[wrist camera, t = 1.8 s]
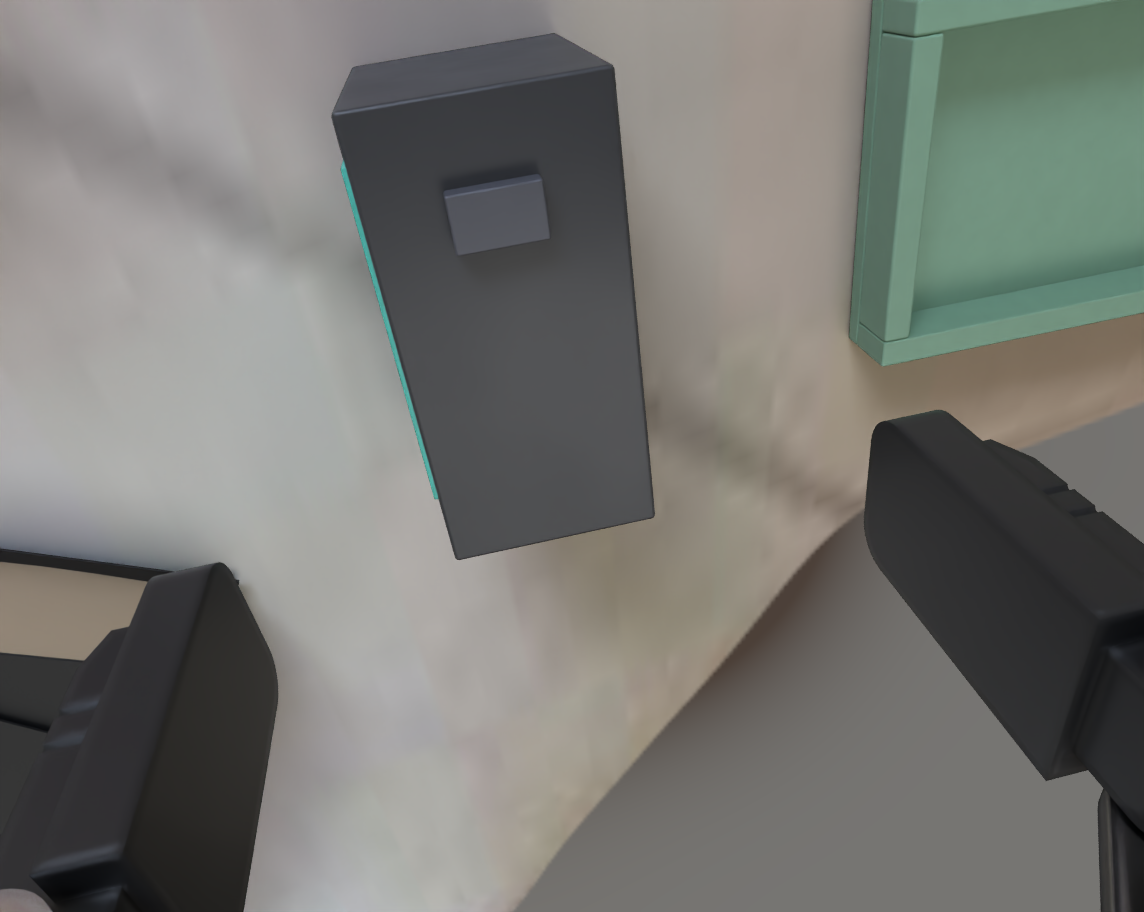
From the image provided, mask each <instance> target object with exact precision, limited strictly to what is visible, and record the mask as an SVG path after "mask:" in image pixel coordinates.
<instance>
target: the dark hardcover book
mask: <svg viewBox="0 0 1144 912" xmlns="http://www.w3.org/2000/svg"><path fill="white" fill-rule="evenodd" d="M172 572H174V571H166V570H158V569H151V568H143V567H136V566H128V565H120V564H113V563H105V562H98V561H90V560H83V559H75V558H67V557H60V556H52V555H45V554H37V553H29V552H22V551H14V550H7V549H0V836H1V834H2V832H3V830H4V828H5V825H6V823H7V821H8V819H9V817H10V814H11V812H12V810H13V808H14V806H15V803H16V801H17V799H18V797H19V795H20V792H21V790H22V788H23V786H24V784H25V781H26V779H27V777H28V775H29V773H30V770H31V768H32V766H33V764H34V762H35V759H36V757H37V755H38V753H43V750H44V748H43V745H42V744H43V742H44V740H45V738H46V735H47V733H48V731H49V729H50V727H51V724H52V722H53V720H54V718H57V717H59V711H58V709H59V707H60V705H61V702H62V700H63V698H64V696H65V694H66V691H67V689H68V687H69V685H70V683H71V680H72V678H73V676H74V674H75V672H76V669H77V668H78V667H79V666H80V665H81V664H82V663H83V661H84V660H85V659H86V658H87V657H88V656H89V655H90V654H91V652H92V651H93V650H94V649H95V648H96V647H97V646H98V645H99V644H100V642H101V641H102V640H103V639H104V638H105V637H106V636H107V635H108V633H109V632H110V631H111V630H115V629H120V628H124V627H129V625H130V623H131V620H132V618H133V616H134V613H135V611H136V608H137V606H138V603H139V601H140V598H141V596H142V593H143V591H144V588H145V586H146V584H147V582H148V581H149V580H150V579H151V578H152V577H154V576H158V575H162V574H167V573H172ZM236 582H237V584H238V585H239V580H236Z"/></svg>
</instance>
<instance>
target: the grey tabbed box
mask: <svg viewBox="0 0 1144 912" xmlns="http://www.w3.org/2000/svg"><path fill="white" fill-rule="evenodd" d="M332 121H333V125H334V128H335V132H336V135H337V139H338V142H339V146H340V150H341V153H342V157H343V163H342V166H341V172H342V176H343V179H344V183H345V186H346V190H347V193H348V197H349V200H350V204H351V207H352V211H353V214H354V218H355V221H356V225H357V228H358V232H359V235H360V239H361V242H362V246H363V249H364V253H365V256H366V260H367V263H368V267H369V270H370V274H371V278H372V281H373V285H374V288H375V292H376V295H377V299H378V302H379V306H380V309H381V313H382V316H383V320H384V323H385V327H386V330H387V334H388V337H389V341H390V344H391V348H392V351H393V355H394V358H395V362H396V365H397V369H398V372H399V376H400V379H401V383H402V386H403V390H404V393H405V397H406V400H407V404H408V408H409V411H410V415H411V418H412V422H413V425H414V429H415V432H416V436H417V439H418V443H419V446H420V450H421V453H422V457H423V460H424V464H425V467H426V471H427V474H428V478H429V481H430V485H431V488H432V492H433V495H434V499H439V502H440V505H441V509H442V513H443V516H444V520H445V523H446V527H447V530H448V534H449V537H450V541H451V545H452V548H453V552H454V555H455V558H456V559H457V560H462V559H466V558H471V557H475V556H480V555H485V554H489V553H494V552H498V551H503V550H508V549H512V548H517V547H521V546H526V545H531V544H535V543H540V542H545V541H549V540H554V539H558V538H563V537H568V536H572V535H577V534H581V533H586V532H591V531H595V530H600V529H604V528H609V527H614V526H618V525H623V524H627V523H632V522H637V521H641V520H646V519H651V518H653V517H654V516H655V509H654V498H653V487H652V476H651V465H650V454H649V443H648V432H647V421H646V410H645V399H644V388H643V378H642V367H641V356H640V345H639V334H638V323H637V312H636V301H635V290H634V279H633V268H632V257H631V246H630V235H629V224H628V213H627V202H626V191H625V180H624V169H623V158H622V147H621V136H620V125H619V114H618V103H617V93H616V82H615V71H614V67H613V65H612V64H610V63H608V62H606V61H604V60H603V59H601V58H599V57H597V56H595V55H594V54H592V53H590V52H588V51H586V50H585V49H583V48H581V47H579V46H577V45H576V44H574V43H572V42H570V41H568V40H566V39H565V38H563V37H561V36H559V35H557V34H555V33H553V34H547V35H541V36H535V37H529V38H523V39H517V40H511V41H505V42H499V43H493V44H487V45H481V46H475V47H469V48H463V49H457V50H451V51H445V52H439V53H434V54H428V55H422V56H416V57H410V58H404V59H398V60H392V61H386V62H380V63H374V64H368V65H362V66H356V67H353V68H352V70H351V72H350V74H349V76H348V79H347V81H346V83H345V85H344V87H343V90H342V92H341V94H340V96H339V99H338V101H337V103H336V105H335V107H334V110H333V112H332Z"/></svg>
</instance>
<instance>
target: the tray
mask: <svg viewBox="0 0 1144 912" xmlns="http://www.w3.org/2000/svg"><path fill="white" fill-rule="evenodd" d="M1140 313H1144V0H873V3H872V17H871V32H870V46H869V60H868V74H867V88H866V103H865V117H864V131H863V145H862V159H861V174H860V188H859V202H858V216H857V230H856V245H855V259H854V273H853V287H852V301H851V316H850V330H849V338H850V339H851V340H852V341H853V342H854V343H856V344H858V346H859V347H860V348H861V349H862V350H864V351H865V352H866V353H867V354H868V355H869V356H870V357H872V358H873V359H874V360H875V361H876V362H877V363H878V364H880V365H881V366H888V365H893V364H898V363H903V362H908V361H913V360H917V359H922V358H927V357H932V356H937V355H942V354H946V353H951V352H956V351H961V350H966V349H971V348H975V347H980V346H985V345H990V344H995V343H1000V342H1004V341H1009V340H1014V339H1019V338H1024V337H1029V336H1033V335H1038V334H1043V333H1048V332H1053V331H1058V330H1062V329H1067V328H1072V327H1077V326H1082V325H1087V324H1091V323H1096V322H1101V321H1106V320H1111V319H1116V318H1120V317H1125V316H1130V315H1135V314H1140Z"/></svg>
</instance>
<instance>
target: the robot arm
mask: <svg viewBox="0 0 1144 912" xmlns="http://www.w3.org/2000/svg"><path fill="white" fill-rule="evenodd" d="M1067 485H1068V484H1067V483H1066V482H1064V481H1063V480H1062V479H1061V478H1059V477H1058V476H1057V475H1056V474H1054V473H1053V472H1052V471H1050V470H1049V469H1048V468H1046V467H1045V466H1044V465H1043V464H1042V463H1040V462H1039V461H1038V460H1037V459H1035V458H1033V457H1031V456H1029V455H1026V454H1024V453H1022V452H1019V451H1017V450H1015V449H1012V448H1010V447H1008V446H1005V445H1003V444H1001V443H998V442H996V441H994V440H991V439H990V440H986V441H982V440H981V439H979V438H978V437H977V436H976V435H975V434H973V433H972V432H971V431H970V430H969V429H967V428H966V427H965V426H964V425H963V424H961V423H960V422H959V421H958V420H957V419H955V418H954V417H953V416H952V415H950V414H949V413H947V412H946V411H943V410H934V411H929V412H925V413H920V414H915V415H911V416H906V417H902V418H897V419H892V420H888V421H883V422H880V423H878V424H877V426H876V427H875V429H874V431H873V434H872V439H871V448H870V459H869V470H868V480H867V491H866V502H865V512H864V530H865V536H866V540H867V543H868V547H869V549H870V552H871V555H872V557H873V559H874V561H875V562H876V564H877V565H878V567H879V569H880V570H881V571H882V572H883V574H884V575H885V576H886V577H887V579H888V580H889V581H890V583H891V584H892V585H893V586H894V588H895V589H896V590H897V592H898V593H899V594H900V595H901V596H902V598H903V599H904V600H905V602H906V603H907V604H908V606H909V607H910V608H911V609H912V611H913V612H914V613H915V614H916V616H917V617H918V618H919V620H920V621H921V622H922V623H923V625H924V626H925V627H926V628H927V630H928V631H929V632H930V634H931V635H932V636H933V637H934V639H935V640H936V641H937V643H938V644H939V645H940V646H941V647H942V649H943V650H944V651H945V653H946V654H947V655H948V657H949V658H950V659H951V660H952V662H953V663H954V664H955V665H956V667H957V668H958V669H959V671H960V672H961V673H962V674H963V676H964V677H965V678H966V680H967V681H968V682H969V683H970V685H971V686H972V687H973V688H974V690H975V691H976V692H977V693H978V695H979V696H980V697H981V699H982V700H983V701H984V702H985V704H986V705H987V706H988V708H989V709H990V710H991V711H992V713H993V714H994V715H995V716H996V718H997V719H998V720H999V722H1000V723H1001V724H1002V725H1003V727H1004V728H1005V729H1006V730H1007V732H1008V733H1009V734H1010V735H1011V737H1012V738H1013V739H1014V741H1015V742H1016V743H1017V744H1018V746H1019V747H1020V748H1021V750H1022V751H1023V752H1024V753H1025V755H1026V756H1027V757H1028V759H1029V760H1030V761H1031V762H1032V764H1033V765H1034V766H1035V767H1036V769H1037V770H1038V771H1039V773H1040V774H1041V775H1042V776H1043V778H1044V779H1045V780H1046V781H1047V780H1051V779H1055V778H1059V777H1063V776H1067V775H1070V774H1075V773H1078V772H1082V771H1086V770H1089V772H1090V773H1091V774H1092V775H1093V776H1094V777H1095V779H1096V780H1097V781H1098V782H1099V783H1100V784H1101V786H1102V787H1103V791H1102V793H1101V796H1100V799H1099V802H1098V837H1099V869H1100V898H1101V899H1100V901H1101V912H1144V544H1143V543H1142V542H1140V541H1139V540H1138V539H1137V538H1135V537H1134V536H1133V535H1132V534H1130V533H1129V532H1128V531H1127V530H1125V529H1124V528H1123V527H1121V526H1120V525H1119V524H1118V523H1116V522H1115V521H1114V520H1113V519H1111V518H1110V517H1109V516H1108V515H1106V514H1105V513H1104V512H1097V511H1096V510H1095V505H1094V504H1092V503H1091V502H1090V501H1088V500H1087V499H1086V498H1085V497H1083V496H1082V495H1081V494H1079V493H1078V492H1077V491H1076V490H1075V489H1073V490H1069V489H1068V486H1067ZM277 704H278V680H277V673H276V668H275V664H274V660H273V657H272V654H271V652H270V649H269V647H268V645H267V643H266V641H265V639H264V637H263V635H262V633H261V631H260V629H259V627H258V625H257V623H256V621H255V619H254V617H253V615H252V613H251V610H250V608H249V606H248V604H247V602H246V600H245V598H244V596H243V594H242V592H241V590H240V588H239V586H238V584H237V582H236V580H235V578H234V576H233V574H232V572H231V571H230V569H229V568H228V567H227V566H226V565H225V564H223V563H220V562H218V563H214V564H209V565H204V566H200V567H195V568H190V569H186V570H181V571H176V572H172V573H167V574H162V575H158V576H154V577H152V578H151V579H150V580H149V581H148V582H147V584H146V586H145V588H144V591H143V593H142V596H141V598H140V601H139V603H138V606H137V608H136V611H135V613H134V616H133V618H132V620H131V623H130V625H129V627H124V628H120V629H115V630H111V631H110V632H109V633H108V635H107V636H106V637H105V638H104V639H103V640H102V641H101V642H100V644H99V645H98V646H97V647H96V648H95V649H94V650H93V651H92V652H91V654H90V655H89V656H88V657H87V658H86V659H85V660H84V661H83V663H82V664H81V665H80V666H79V667H78V668H77V669H76V672H75V674H74V676H73V678H72V680H71V683H70V685H69V687H68V689H67V691H66V694H65V696H64V698H63V700H62V702H61V705H60V707H59V709H58V711H59V717H57V718H54V720H53V722H52V724H51V727H50V729H49V731H48V733H47V735H46V738H45V740H44V742H43V744H42V745H43V748H44V750H43V753H38V755H37V757H36V759H35V762H34V764H33V766H32V768H31V770H30V773H29V775H28V777H27V779H26V781H25V784H24V786H23V788H22V790H21V792H20V795H19V797H18V799H17V801H16V803H15V806H14V808H13V810H12V812H11V814H10V817H9V819H8V821H7V823H6V825H5V828H4V830H3V832H2V834H1V836H0V912H243V911H244V905H245V899H246V893H247V887H248V881H249V875H250V869H251V863H252V857H253V851H254V845H255V839H256V832H257V826H258V820H259V814H260V808H261V802H262V796H263V790H264V784H265V778H266V772H267V766H268V760H269V753H270V747H271V741H272V735H273V729H274V723H275V717H276V711H277Z"/></svg>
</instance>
